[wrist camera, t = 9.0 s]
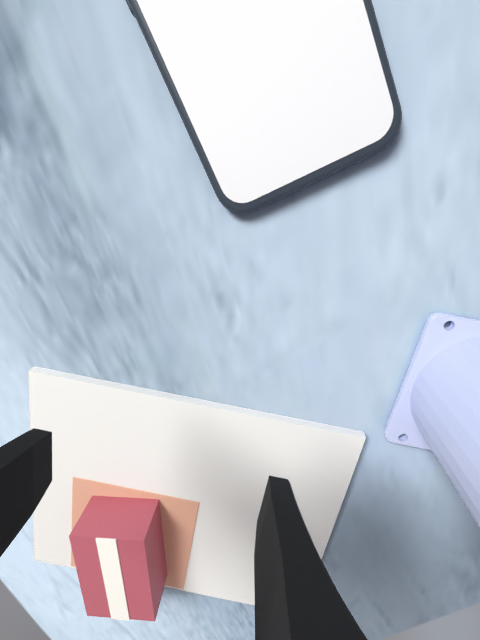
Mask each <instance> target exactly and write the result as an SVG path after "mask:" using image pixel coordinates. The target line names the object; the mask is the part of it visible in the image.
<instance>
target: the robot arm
mask: <svg viewBox="0 0 480 640" xmlns="http://www.w3.org/2000/svg"><path fill="white" fill-rule="evenodd" d="M447 321H451V324H450V326H449V327H447V328H444V324H445V323H446V322H447ZM401 434H405V435H404V436H403V437H399V436H400V435H401ZM384 435H385V438H386V439H387V440H388V441H389V442H391V443H396V444H402V445H407V446H412V447H417V448H422V449H427V450H432V451H433V453H434V454H435V456H436V458H437V459H438V461H439V463H440V464H441V466H442V467H443V469H444V471H445V472H446V474H447V476H448V477H449V479H450V480H451V482H452V484H453V485H454V487H455V489H456V490H457V492H458V493H459V495H460V497H461V498H462V500H463V502H464V503H465V505H466V506H467V508H468V510H469V511H470V513H471V515H472V516H473V518H474V520H475V521H476V523H477V524H478V526H479V528H480V320H476V319H471V318H466V317H461V316H456V315H451V314H446V313H440V312H436V313H433V314H431V315H430V316H429V317H428V319H427V321H426V323H425V326H424V328H423V331H422V334H421V336H420V339H419V341H418V344H417V347H416V349H415V352H414V354H413V357H412V360H411V362H410V365H409V367H408V370H407V373H406V375H405V378H404V380H403V383H402V385H401V388H400V391H399V393H398V396H397V398H396V401H395V404H394V406H393V409H392V411H391V414H390V417H389V419H388V422H387V424H386V427H385V430H384ZM51 482H52V432H50V431H45V430H40V429H35V428H33V429H32V430H30V431H28V432H26V433H24V434H22V435H21V436H19V437H17V438H15V439H14V440H12V441H10V442H8V443H7V444H5V445H3V446H1V447H0V557H1V555H2V554H3V553H4V551H5V550H6V549H7V547H8V546H9V545H10V543H11V542H12V541H13V539H14V538H15V537H16V535H17V534H18V533H19V531H20V530H21V529H22V527H23V526H24V525H25V523H26V522H27V520H28V519H29V518H30V516H31V515H32V514H33V512H34V511H35V509H36V507H37V506H38V504H39V502H40V501H41V499H42V498H43V496H44V494H45V492H46V490H47V489H48V487H49V485H50V483H51ZM254 588H255V640H367V638H366V637H365V635H364V634H363V632H362V631H361V629H360V628H359V626H358V624H357V623H356V621H355V619H354V618H353V616H352V615H351V613H350V611H349V610H348V608H347V606H346V605H345V603H344V601H343V600H342V598H341V596H340V594H339V593H338V591H337V589H336V587H335V585H334V584H333V582H332V580H331V578H330V576H329V574H328V572H327V570H326V568H325V566H324V564H323V562H322V560H321V558H320V556H319V554H318V552H317V550H316V548H315V546H314V543H313V541H312V539H311V536H310V534H309V532H308V530H307V527H306V525H305V523H304V520H303V518H302V515H301V512H300V510H299V507H298V505H297V502H296V499H295V496H294V493H293V490H292V487H291V484H290V482H289V480H288V479H284V478H279V477H274V476H269V478H268V482H267V485H266V489H265V493H264V497H263V500H262V504H261V508H260V512H259V516H258V519H257V526H256V538H255V551H254Z"/></svg>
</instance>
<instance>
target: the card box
mask: <svg viewBox="0 0 480 640" xmlns="http://www.w3.org/2000/svg"><path fill="white" fill-rule="evenodd" d="M69 539H70V543H71V548H72V552H73V556H74V561H75V565H76V569H77V574H78V578H79V582H80V587H81V591H82V595H83V600H84V604H85V608H86V612H87V616H98V617H110V618H111V619H117V620H130V619H135V620H147V621H155V619H156V616H157V612H158V608H159V604H160V600H161V597H162V593H163V589H164V585H165V582H166V578H167V567H166V558H165V549H164V540H163V531H162V522H161V513H160V504H159V499H146V498H128V497H110V496H92V497H91V499H90V500H89V502H88V504H87V506H86V507H85V509H84V511H83V512H82V514H81V516H80V518H79V519H78V521H77V523H76V525H75V526H74V528H73V530H72V531H71V533H70V535H69Z"/></svg>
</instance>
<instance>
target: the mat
mask: <svg viewBox="0 0 480 640" xmlns="http://www.w3.org/2000/svg"><path fill="white" fill-rule="evenodd" d="M29 403H30V430H32V429H33V428H35V429H40V430H45V431H50V432H52V482H51V483H50V485H49V487H48V489H47V490H46V492H45V494H44V496H43V498H42V499H41V501H40V502H39V504H38V506H37V507H36V509H35V511H34V512H33V534H34V560H36V561H41V562H46V563H51V564H56V565H61V566H65V567H70V568H75V569H76V565H75V561H74V556H73V552H72V548H71V543H70V539H69V535H70V533H71V531H72V530H73V528H74V526H75V525H76V523H77V521H78V519H79V518H80V516H81V514H82V512H83V511H84V509H85V507H86V506H87V504H88V502H89V500H90V499H91V497H92V496H110V497H128V498H146V499H159V504H160V513H161V522H162V531H163V540H164V549H165V558H166V567H167V578H166V582H165V585H164V587H168V588H173V589H178V590H182V591H187V592H192V593H197V594H202V595H207V596H212V597H217V598H221V599H226V600H231V601H236V602H241V603H246V604H251V605H255V588H254V551H255V538H256V526H257V519H258V516H259V512H260V508H261V504H262V500H263V497H264V493H265V489H266V485H267V482H268V478H269V476H274V477H279V478H284V479H288V480H289V482H290V484H291V487H292V490H293V493H294V496H295V499H296V502H297V505H298V507H299V510H300V512H301V515H302V518H303V520H304V523H305V525H306V527H307V530H308V532H309V534H310V536H311V539H312V541H313V543H314V546H315V548H316V550H317V552H318V554H319V556H320V558H321V559H322V557H323V554H324V551H325V549H326V546H327V543H328V540H329V538H330V535H331V532H332V529H333V527H334V524H335V521H336V519H337V516H338V513H339V510H340V508H341V505H342V502H343V500H344V497H345V494H346V491H347V489H348V486H349V483H350V480H351V478H352V475H353V472H354V470H355V467H356V464H357V461H358V459H359V456H360V453H361V451H362V448H363V445H364V442H365V440H366V436H365V434H364V431H359V430H354V429H349V428H344V427H339V426H334V425H329V424H324V423H319V422H313V421H308V420H303V419H298V418H293V417H288V416H283V415H278V414H273V413H268V412H263V411H258V410H253V409H248V408H243V407H238V406H233V405H228V404H223V403H218V402H213V401H208V400H203V399H198V398H193V397H188V396H183V395H178V394H173V393H167V392H162V391H157V390H152V389H147V388H142V387H137V386H132V385H127V384H122V383H117V382H112V381H107V380H102V379H97V378H92V377H87V376H82V375H77V374H72V373H67V372H62V371H57V370H52V369H47V368H42V367H37V366H34V367H33V368H32V369H30V370H29Z"/></svg>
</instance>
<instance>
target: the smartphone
mask: <svg viewBox="0 0 480 640" xmlns="http://www.w3.org/2000/svg"><path fill="white" fill-rule="evenodd" d="M126 2H127V4H128V7H129V9H130V11H131V13H132V14H133V16H134V17H135V18H136V19H137V21H138V24H139V26H140V28H141V30H142V32H143V35H144V37H145V39H146V41H147V43H148V46H149V48H150V50H151V52H152V54H153V57H154V59H155V61H156V63H157V65H158V68H159V70H160V72H161V74H162V76H163V79H164V81H165V83H166V85H167V87H168V90H169V92H170V94H171V96H172V98H173V101H174V103H175V105H176V107H177V109H178V112H179V114H180V116H181V118H182V120H183V123H184V125H185V127H186V129H187V131H188V134H189V136H190V138H191V140H192V142H193V145H194V147H195V149H196V151H197V153H198V156H199V158H200V160H201V162H202V164H203V167H204V169H205V171H206V173H207V175H208V178H209V180H210V182H211V184H212V186H213V189H214V191H215V193H216V195H217V197H218V199H219V201H220V202H221V203H222V204H223V206H225V207H226V208H227V209H229V210H231V211H233V212H236V213H249V212H252V211H255V210H257V209H259V208H261V207H263V206H265V205H267V204H270V203H272V202H274V201H276V200H278V199H280V198H282V197H285V196H287V195H289V194H291V193H293V192H295V191H297V190H299V189H302V188H304V187H306V186H308V185H310V184H312V183H314V182H316V181H319V180H321V179H323V178H325V177H327V176H329V175H331V174H333V173H336V172H338V171H340V170H342V169H344V168H346V167H348V166H350V165H353V164H355V163H357V162H359V161H361V160H363V159H365V158H367V157H370V156H372V155H374V154H376V153H378V152H380V151H382V150H383V149H385V148H386V147H387V146H388V145H389V144H390V143H391V142H392V141H393V140H394V138H395V137H396V135H397V133H398V131H399V128H400V125H401V120H402V112H401V106H400V102H399V99H398V95H397V92H396V88H395V84H394V81H393V77H392V73H391V70H390V66H389V63H388V59H387V55H386V52H385V48H384V44H383V41H382V37H381V34H380V30H379V26H378V23H377V19H376V15H375V12H374V8H373V5H372V1H371V0H126Z"/></svg>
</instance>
